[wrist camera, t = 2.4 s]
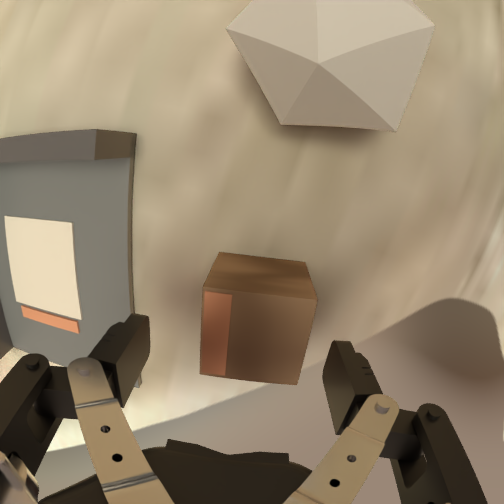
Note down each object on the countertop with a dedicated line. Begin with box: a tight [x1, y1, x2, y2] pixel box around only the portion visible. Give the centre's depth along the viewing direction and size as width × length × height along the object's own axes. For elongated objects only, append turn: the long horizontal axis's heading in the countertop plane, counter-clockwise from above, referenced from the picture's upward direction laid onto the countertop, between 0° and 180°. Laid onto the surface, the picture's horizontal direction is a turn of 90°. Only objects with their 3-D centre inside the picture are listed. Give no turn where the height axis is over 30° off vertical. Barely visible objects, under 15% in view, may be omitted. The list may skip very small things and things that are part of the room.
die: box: [225, 0, 435, 132], centre depth 11 cm, size 8×9×10 cm
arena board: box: [0, 129, 141, 388], centre depth 17 cm, size 15×18×5 cm
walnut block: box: [200, 252, 318, 385], centre depth 16 cm, size 5×5×5 cm
